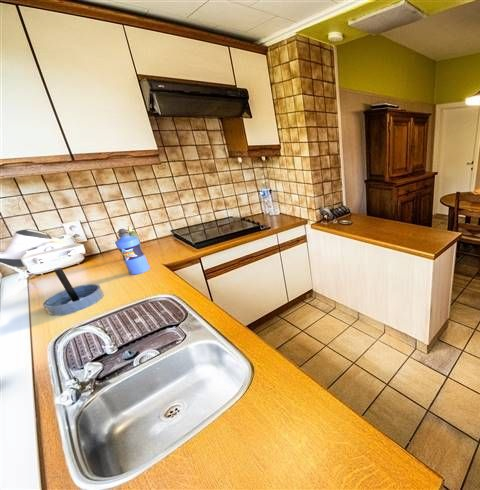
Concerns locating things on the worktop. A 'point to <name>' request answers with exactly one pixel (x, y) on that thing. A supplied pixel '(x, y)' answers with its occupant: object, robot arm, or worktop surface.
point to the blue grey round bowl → (61, 306)
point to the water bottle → (132, 253)
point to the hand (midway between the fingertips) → (55, 258)
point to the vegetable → (132, 233)
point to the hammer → (67, 285)
